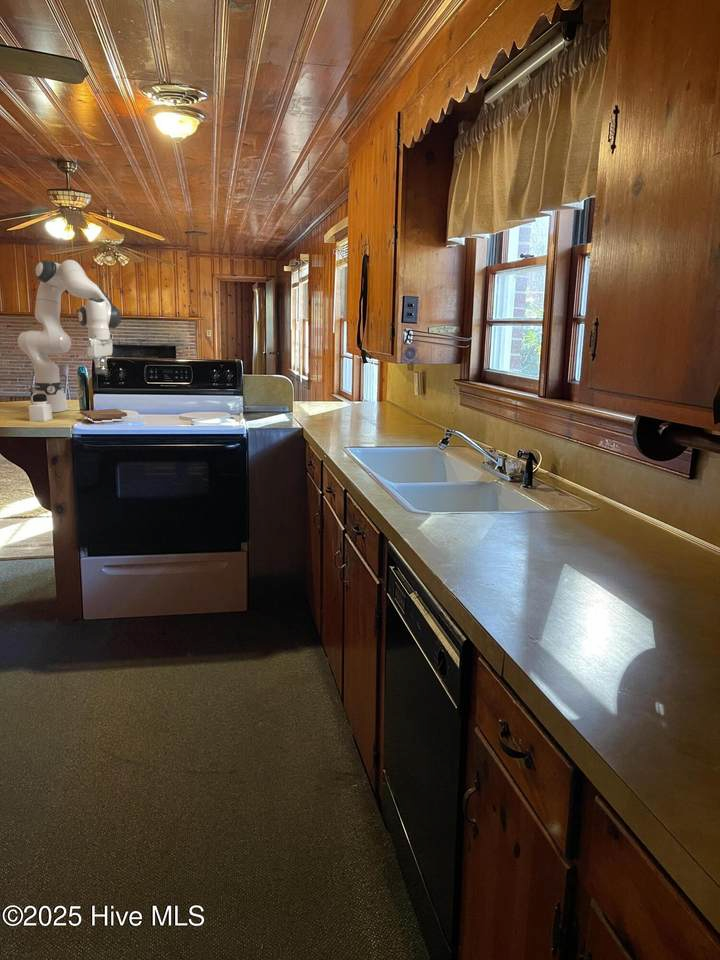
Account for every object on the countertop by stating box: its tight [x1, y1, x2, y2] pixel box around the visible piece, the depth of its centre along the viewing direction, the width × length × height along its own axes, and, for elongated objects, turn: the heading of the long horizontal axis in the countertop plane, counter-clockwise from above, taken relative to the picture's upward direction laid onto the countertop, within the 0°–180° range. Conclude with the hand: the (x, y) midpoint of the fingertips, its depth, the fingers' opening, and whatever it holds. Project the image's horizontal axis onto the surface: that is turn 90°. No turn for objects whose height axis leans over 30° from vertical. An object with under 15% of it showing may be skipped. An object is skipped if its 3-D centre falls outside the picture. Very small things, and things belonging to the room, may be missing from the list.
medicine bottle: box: [28, 394, 53, 422], centre depth 319 cm, size 7×7×12 cm
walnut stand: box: [80, 408, 128, 421], centre depth 321 cm, size 16×16×4 cm
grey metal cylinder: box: [94, 357, 108, 375], centre depth 316 cm, size 5×5×7 cm
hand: (101, 366), depth 316 cm, fingers closed on grey metal cylinder, 5 cm apart
